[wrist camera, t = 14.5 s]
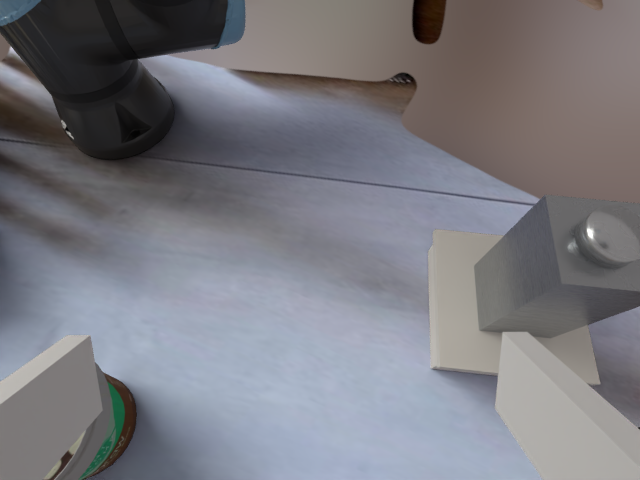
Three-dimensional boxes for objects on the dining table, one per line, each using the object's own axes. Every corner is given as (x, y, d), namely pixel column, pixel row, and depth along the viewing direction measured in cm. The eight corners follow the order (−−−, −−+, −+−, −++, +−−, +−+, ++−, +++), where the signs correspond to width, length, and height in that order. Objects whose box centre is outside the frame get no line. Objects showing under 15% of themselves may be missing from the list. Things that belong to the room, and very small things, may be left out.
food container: (96, 522, 34) (17, 558, 25) (44, 489, 35) (-50, 512, 26) (173, 390, 39) (130, 381, 30) (125, 365, 40) (70, 349, 31)
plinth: (423, 247, 47) (435, 229, 42) (545, 259, 46) (569, 241, 42) (426, 373, 40) (440, 366, 36) (568, 388, 39) (600, 384, 35)
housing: (473, 265, 40) (557, 182, 26) (539, 272, 40) (660, 191, 26) (479, 330, 37) (577, 274, 23) (550, 338, 37) (693, 286, 23)
